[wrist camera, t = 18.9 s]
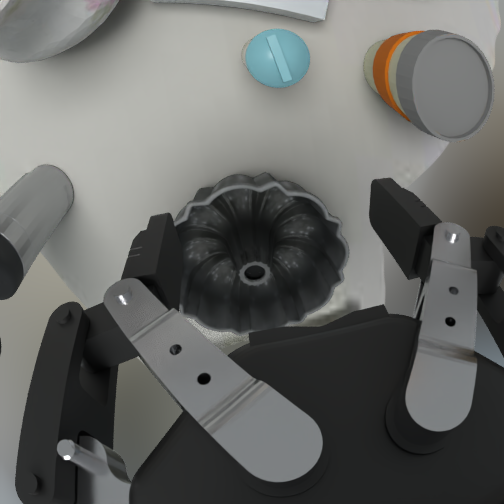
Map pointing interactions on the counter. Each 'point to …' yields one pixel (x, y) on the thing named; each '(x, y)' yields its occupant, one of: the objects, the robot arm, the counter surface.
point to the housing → (271, 7)
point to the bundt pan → (257, 255)
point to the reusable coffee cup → (433, 82)
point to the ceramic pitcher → (47, 26)
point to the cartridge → (276, 58)
